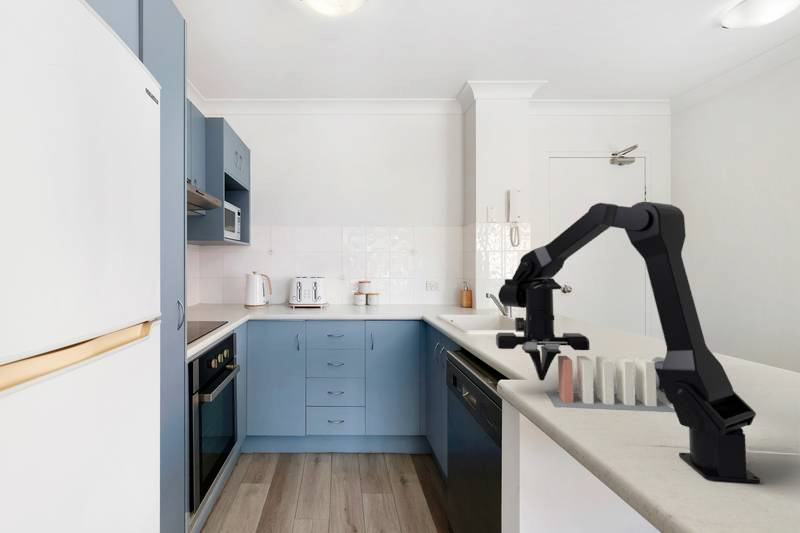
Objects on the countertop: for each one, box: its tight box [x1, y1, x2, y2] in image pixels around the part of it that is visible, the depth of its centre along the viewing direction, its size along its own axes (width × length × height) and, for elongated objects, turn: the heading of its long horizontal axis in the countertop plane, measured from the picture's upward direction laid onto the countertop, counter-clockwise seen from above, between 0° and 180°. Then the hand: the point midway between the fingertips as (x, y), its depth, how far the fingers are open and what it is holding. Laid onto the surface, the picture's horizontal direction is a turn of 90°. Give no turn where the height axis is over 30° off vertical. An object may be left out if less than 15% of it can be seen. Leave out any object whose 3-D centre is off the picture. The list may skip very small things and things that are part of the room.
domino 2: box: [576, 355, 594, 404], centre depth 78 cm, size 4×2×9 cm, turn 170°
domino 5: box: [634, 356, 657, 406], centre depth 76 cm, size 4×2×9 cm, turn 170°
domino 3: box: [595, 355, 615, 405], centre depth 77 cm, size 4×2×9 cm, turn 170°
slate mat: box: [543, 390, 676, 413], centre depth 77 cm, size 10×23×1 cm, turn 80°
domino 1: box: [557, 355, 574, 403], centre depth 78 cm, size 4×2×9 cm, turn 170°
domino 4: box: [615, 356, 636, 406], centre depth 76 cm, size 4×2×9 cm, turn 170°
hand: (541, 380), depth 79 cm, fingers closed
